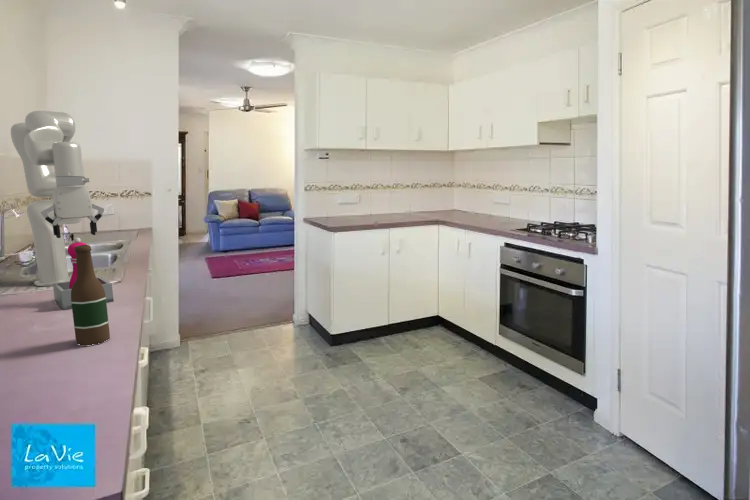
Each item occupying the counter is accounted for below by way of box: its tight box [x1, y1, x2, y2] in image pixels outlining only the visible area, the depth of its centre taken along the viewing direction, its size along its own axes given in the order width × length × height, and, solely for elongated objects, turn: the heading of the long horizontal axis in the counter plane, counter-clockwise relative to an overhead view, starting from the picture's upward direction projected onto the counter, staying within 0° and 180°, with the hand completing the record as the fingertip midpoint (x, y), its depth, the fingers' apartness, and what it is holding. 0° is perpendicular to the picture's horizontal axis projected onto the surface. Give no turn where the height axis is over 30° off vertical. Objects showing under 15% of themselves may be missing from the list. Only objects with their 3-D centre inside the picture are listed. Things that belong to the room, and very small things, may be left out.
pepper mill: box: [67, 237, 88, 289], centre depth 154 cm, size 7×7×20 cm
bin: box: [52, 276, 114, 311], centre depth 155 cm, size 14×14×6 cm
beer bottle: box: [71, 244, 111, 346], centre depth 116 cm, size 8×8×24 cm
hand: (76, 236), depth 152 cm, fingers open, 9 cm apart
